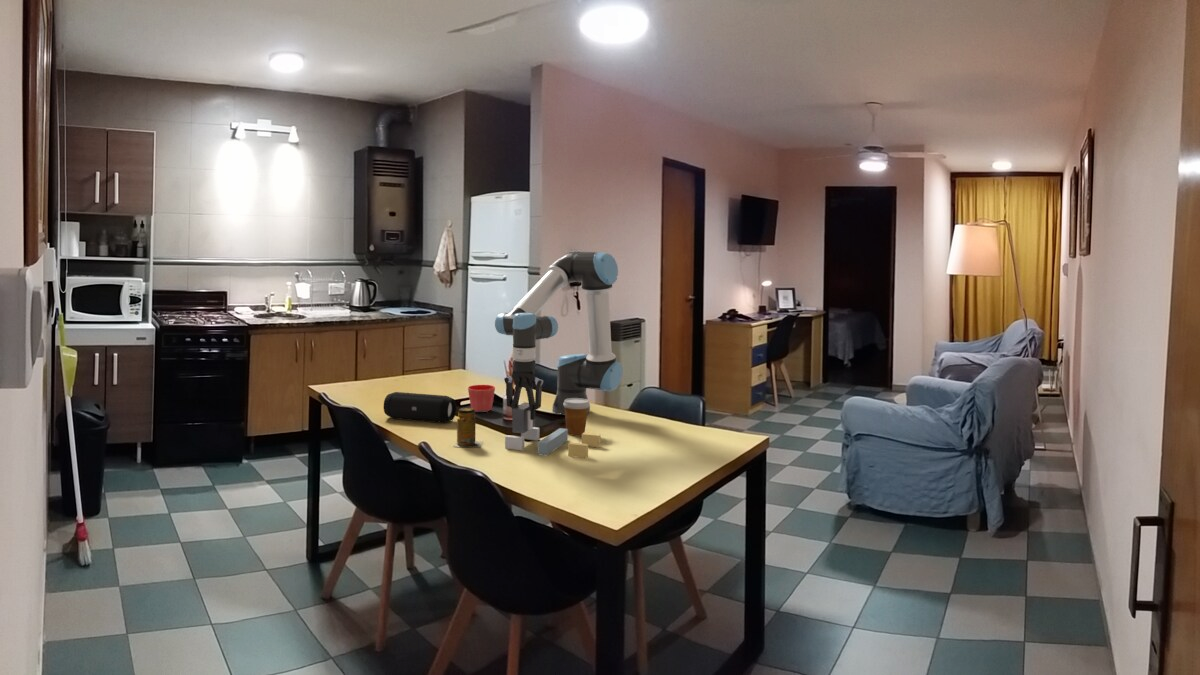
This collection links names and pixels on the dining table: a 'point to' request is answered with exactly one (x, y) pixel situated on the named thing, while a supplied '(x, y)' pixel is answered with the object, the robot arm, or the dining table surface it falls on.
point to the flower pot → (481, 397)
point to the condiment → (466, 429)
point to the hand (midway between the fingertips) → (523, 428)
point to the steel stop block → (520, 418)
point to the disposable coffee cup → (576, 415)
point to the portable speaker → (420, 407)
